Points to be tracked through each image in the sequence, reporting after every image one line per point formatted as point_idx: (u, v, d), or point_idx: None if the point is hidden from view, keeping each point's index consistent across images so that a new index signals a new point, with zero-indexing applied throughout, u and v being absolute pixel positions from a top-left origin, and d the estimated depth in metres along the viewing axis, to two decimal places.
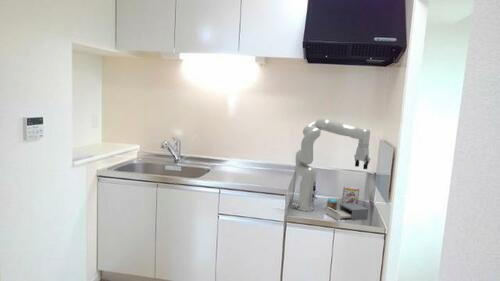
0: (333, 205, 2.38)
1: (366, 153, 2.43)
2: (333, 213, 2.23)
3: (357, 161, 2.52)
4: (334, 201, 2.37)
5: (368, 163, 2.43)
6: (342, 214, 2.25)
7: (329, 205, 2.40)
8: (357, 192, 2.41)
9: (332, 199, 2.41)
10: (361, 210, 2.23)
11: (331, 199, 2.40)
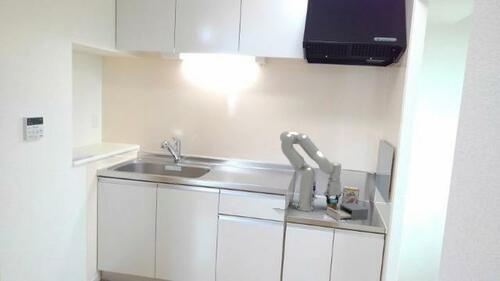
0: (333, 205, 2.38)
1: None
2: (333, 213, 2.23)
3: None
4: (334, 201, 2.37)
5: None
6: (342, 214, 2.25)
7: (329, 205, 2.40)
8: (357, 192, 2.41)
9: (332, 199, 2.41)
10: (361, 210, 2.23)
11: (331, 199, 2.40)
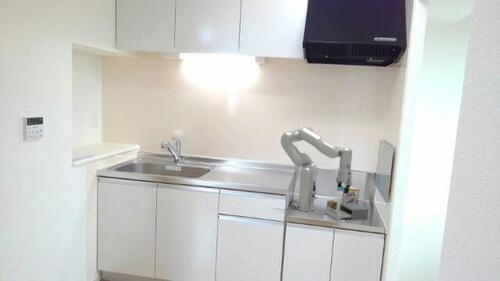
0: (333, 205, 2.38)
1: None
2: (333, 213, 2.23)
3: None
4: None
5: (337, 183, 2.28)
6: (342, 214, 2.25)
7: (329, 205, 2.40)
8: (357, 192, 2.41)
9: (342, 187, 2.24)
10: (361, 210, 2.23)
11: (343, 188, 2.23)
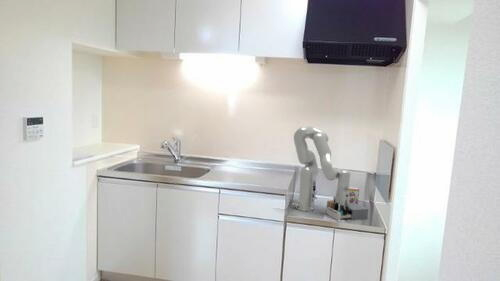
0: (333, 205, 2.38)
1: None
2: (333, 213, 2.23)
3: None
4: None
5: (334, 203, 2.30)
6: None
7: (329, 205, 2.40)
8: (357, 192, 2.41)
9: (340, 211, 2.26)
10: (361, 210, 2.23)
11: (340, 212, 2.25)
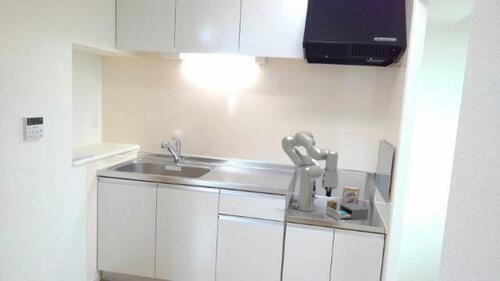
0: (333, 205, 2.38)
1: None
2: (333, 213, 2.23)
3: None
4: (344, 212, 2.26)
5: None
6: None
7: (329, 205, 2.40)
8: (357, 192, 2.41)
9: (340, 211, 2.26)
10: (361, 210, 2.23)
11: (340, 212, 2.25)
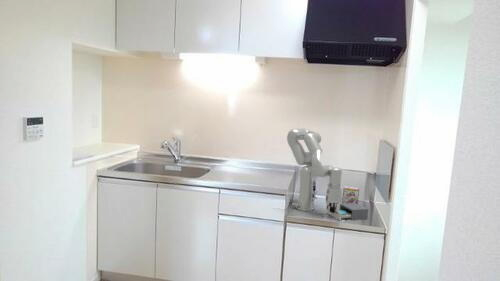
0: None
1: None
2: (334, 213, 2.23)
3: None
4: (345, 212, 2.27)
5: None
6: None
7: None
8: (357, 192, 2.41)
9: (341, 211, 2.26)
10: (361, 210, 2.23)
11: (341, 212, 2.25)
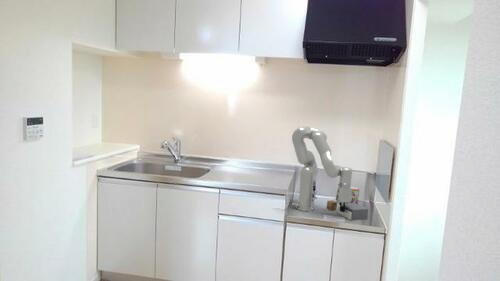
0: (333, 205, 2.38)
1: None
2: (344, 212, 2.26)
3: None
4: None
5: None
6: None
7: (329, 205, 2.40)
8: (357, 192, 2.41)
9: None
10: (361, 210, 2.23)
11: (351, 211, 2.28)
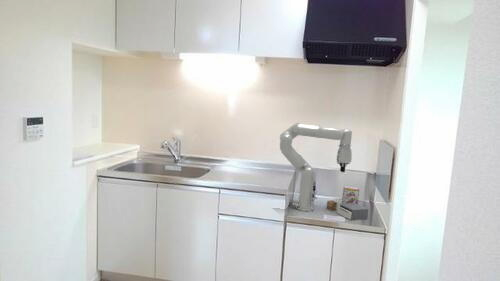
0: (333, 205, 2.38)
1: None
2: (344, 212, 2.26)
3: None
4: None
5: None
6: None
7: (329, 205, 2.40)
8: (357, 192, 2.41)
9: (350, 210, 2.29)
10: (361, 210, 2.23)
11: (351, 211, 2.28)
